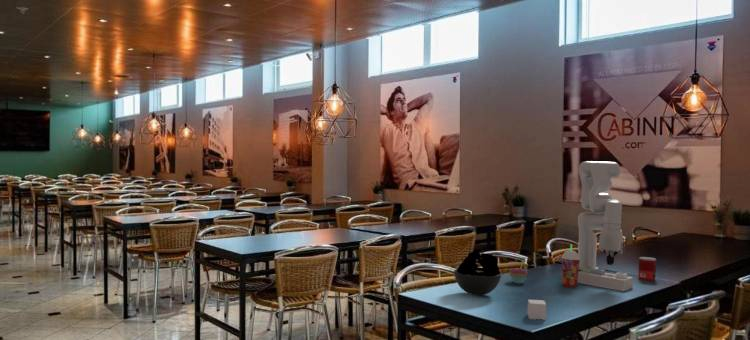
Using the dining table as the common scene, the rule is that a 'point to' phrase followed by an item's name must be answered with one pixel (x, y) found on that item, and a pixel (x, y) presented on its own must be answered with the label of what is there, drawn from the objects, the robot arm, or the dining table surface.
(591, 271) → the key sage
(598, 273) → the key slate
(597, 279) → the keypad
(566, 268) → the smoothie
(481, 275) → the coal bowl
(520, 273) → the cupcake
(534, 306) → the grey cube
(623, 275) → the key ivory
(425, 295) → the dining table surface
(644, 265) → the canned food
